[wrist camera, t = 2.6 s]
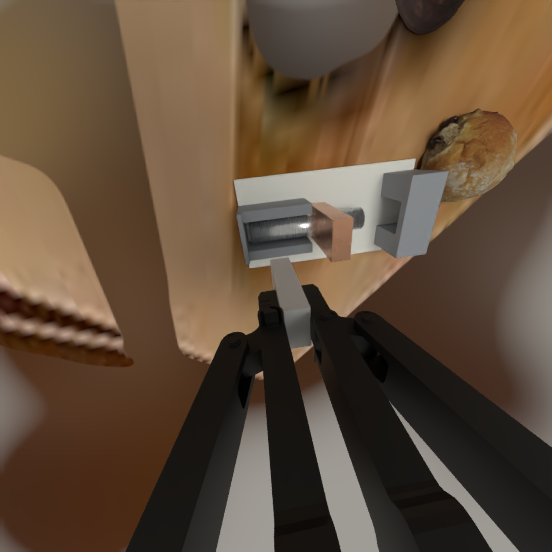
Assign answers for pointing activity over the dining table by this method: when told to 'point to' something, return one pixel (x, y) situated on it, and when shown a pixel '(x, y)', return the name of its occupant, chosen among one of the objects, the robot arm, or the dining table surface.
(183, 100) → the dining table surface
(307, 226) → the slip tube
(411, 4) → the mortar and pestle
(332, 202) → the guide base
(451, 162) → the bread roll
